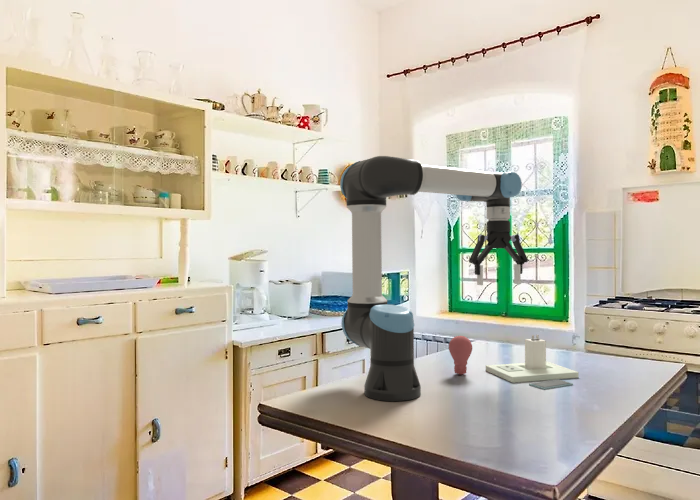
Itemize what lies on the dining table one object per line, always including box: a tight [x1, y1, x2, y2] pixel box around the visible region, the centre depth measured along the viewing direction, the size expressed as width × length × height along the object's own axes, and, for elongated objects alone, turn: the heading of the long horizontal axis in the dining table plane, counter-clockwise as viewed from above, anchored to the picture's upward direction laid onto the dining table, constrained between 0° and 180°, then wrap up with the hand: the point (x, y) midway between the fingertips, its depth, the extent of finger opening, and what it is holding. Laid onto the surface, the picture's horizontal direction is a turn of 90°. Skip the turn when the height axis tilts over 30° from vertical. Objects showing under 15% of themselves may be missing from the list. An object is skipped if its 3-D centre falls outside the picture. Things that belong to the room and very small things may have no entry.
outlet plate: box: [485, 360, 580, 384], centre depth 169 cm, size 22×16×2 cm
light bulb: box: [448, 335, 473, 376], centre depth 169 cm, size 7×7×12 cm
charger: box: [524, 334, 547, 370], centre depth 172 cm, size 4×4×12 cm
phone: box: [528, 379, 574, 391], centre depth 156 cm, size 11×6×1 cm, turn 116°
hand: (498, 284), depth 182 cm, fingers open, 13 cm apart
